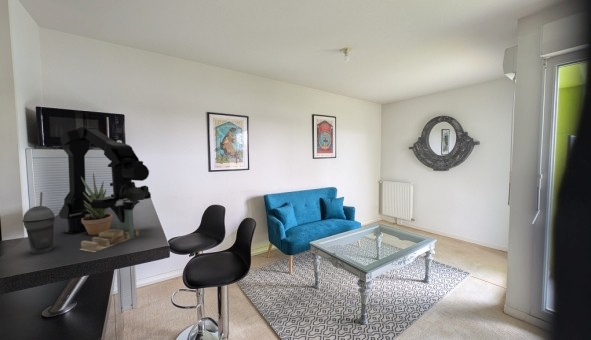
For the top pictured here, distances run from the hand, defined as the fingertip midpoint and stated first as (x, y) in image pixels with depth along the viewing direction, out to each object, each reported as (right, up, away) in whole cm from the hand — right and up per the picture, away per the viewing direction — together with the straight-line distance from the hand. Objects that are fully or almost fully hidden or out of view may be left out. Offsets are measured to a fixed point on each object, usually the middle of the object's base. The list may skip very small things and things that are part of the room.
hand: (125, 221), depth 92 cm
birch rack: (-2, -7, -4) cm, 8 cm away
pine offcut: (-2, -4, -5) cm, 6 cm away
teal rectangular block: (0, -5, +1) cm, 5 cm away
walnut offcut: (-2, -6, -4) cm, 8 cm away
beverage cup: (-19, -8, -12) cm, 23 cm away
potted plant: (-14, -7, +6) cm, 17 cm away
